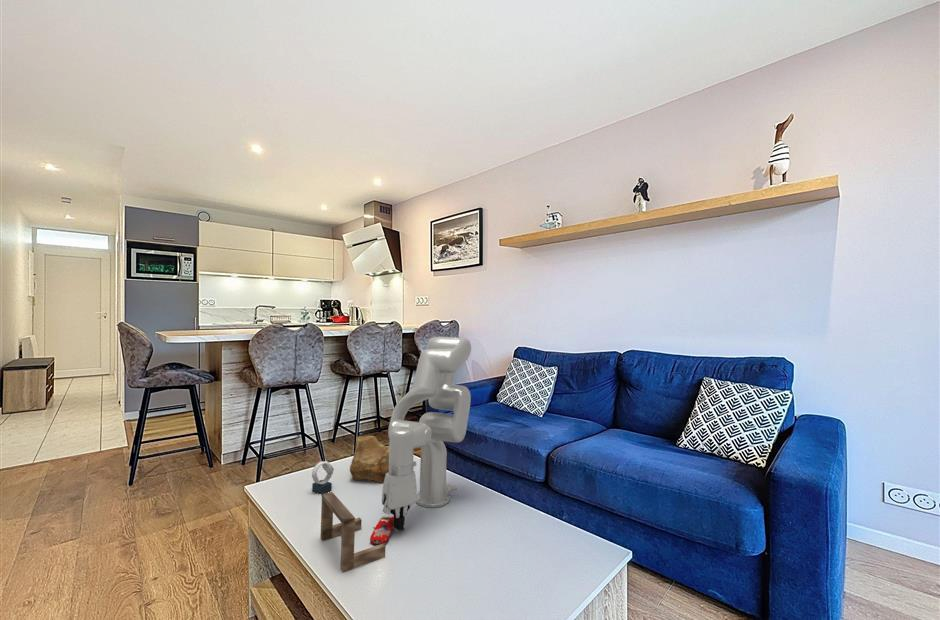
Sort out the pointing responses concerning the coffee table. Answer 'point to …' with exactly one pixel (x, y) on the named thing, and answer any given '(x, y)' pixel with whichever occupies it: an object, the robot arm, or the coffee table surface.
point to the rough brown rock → (370, 459)
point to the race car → (382, 531)
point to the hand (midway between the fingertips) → (398, 528)
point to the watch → (322, 485)
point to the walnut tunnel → (345, 533)
